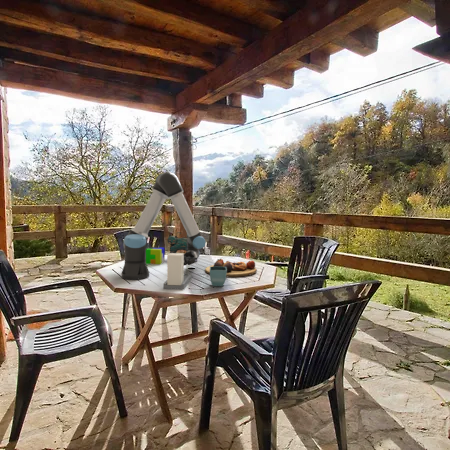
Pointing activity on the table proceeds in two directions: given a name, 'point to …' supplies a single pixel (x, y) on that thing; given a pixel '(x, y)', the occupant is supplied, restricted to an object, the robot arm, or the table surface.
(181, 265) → the cream block
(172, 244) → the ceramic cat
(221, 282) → the flower pot
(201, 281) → the table surface
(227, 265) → the wooden plate with food
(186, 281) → the grey chute
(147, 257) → the puzzle toy
